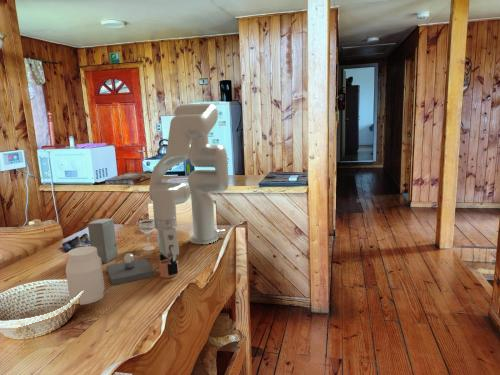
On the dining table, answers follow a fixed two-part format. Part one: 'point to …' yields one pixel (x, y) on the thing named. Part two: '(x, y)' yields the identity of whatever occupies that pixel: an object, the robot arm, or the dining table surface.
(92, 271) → the jar
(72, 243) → the snack package
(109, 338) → the dining table surface
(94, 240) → the skincare box
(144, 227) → the wineglass
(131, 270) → the post stand
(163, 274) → the orange dial knob
